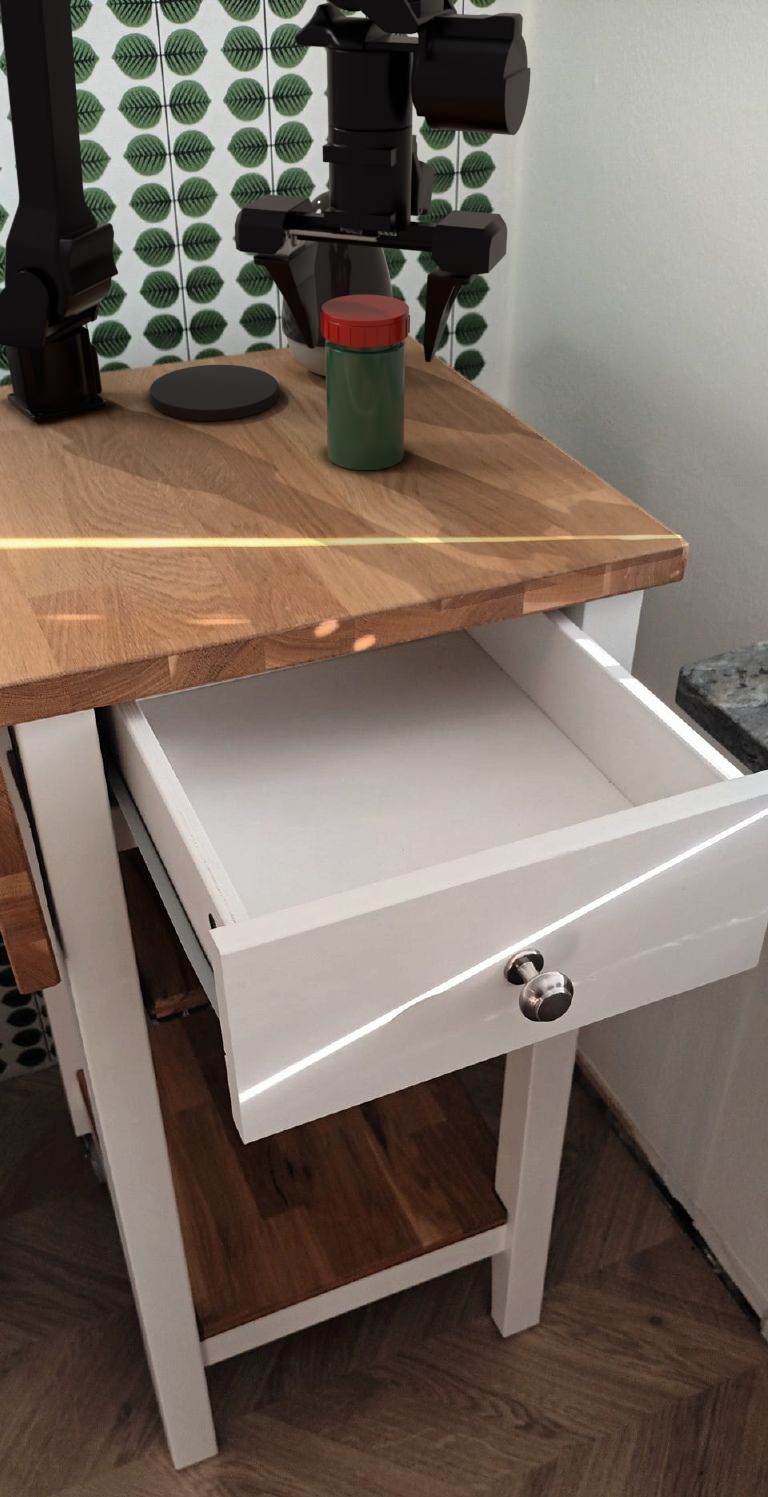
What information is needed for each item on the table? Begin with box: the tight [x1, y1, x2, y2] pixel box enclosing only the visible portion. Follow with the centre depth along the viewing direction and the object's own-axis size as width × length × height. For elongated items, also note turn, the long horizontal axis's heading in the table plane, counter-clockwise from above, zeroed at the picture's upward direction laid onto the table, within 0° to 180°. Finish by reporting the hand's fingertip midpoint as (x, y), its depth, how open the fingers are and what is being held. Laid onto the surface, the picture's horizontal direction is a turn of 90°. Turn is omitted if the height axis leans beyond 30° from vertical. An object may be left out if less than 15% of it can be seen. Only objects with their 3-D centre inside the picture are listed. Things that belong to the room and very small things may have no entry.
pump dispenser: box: [281, 190, 394, 377], centre depth 110 cm, size 10×10×15 cm
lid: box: [320, 295, 411, 348], centre depth 92 cm, size 6×6×2 cm
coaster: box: [149, 364, 280, 422], centre depth 108 cm, size 11×11×1 cm
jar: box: [325, 339, 406, 471], centre depth 95 cm, size 6×6×11 cm
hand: (370, 353), depth 93 cm, fingers open, 9 cm apart
